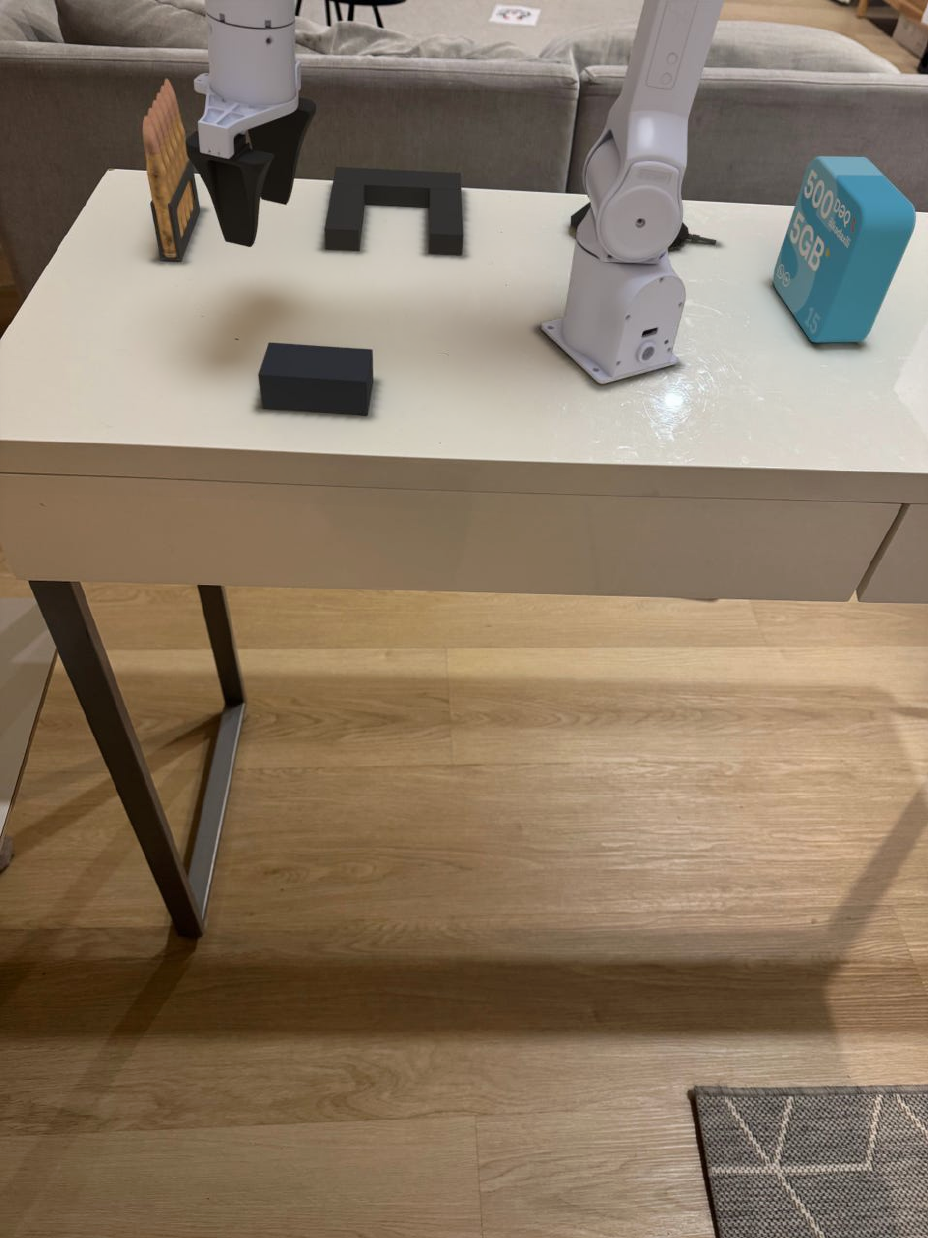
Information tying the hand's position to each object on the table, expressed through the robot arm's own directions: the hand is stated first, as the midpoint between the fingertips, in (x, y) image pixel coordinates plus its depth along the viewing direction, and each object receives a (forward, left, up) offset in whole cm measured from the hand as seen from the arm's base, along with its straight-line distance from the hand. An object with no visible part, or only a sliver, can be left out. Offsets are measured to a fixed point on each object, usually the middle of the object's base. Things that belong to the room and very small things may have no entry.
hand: (258, 220), depth 69 cm
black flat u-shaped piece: (+15, -19, -9) cm, 26 cm away
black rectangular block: (-10, 0, -9) cm, 14 cm away
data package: (-16, -46, -10) cm, 50 cm away
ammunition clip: (+19, +2, -10) cm, 22 cm away
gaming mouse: (+2, -40, -10) cm, 41 cm away
